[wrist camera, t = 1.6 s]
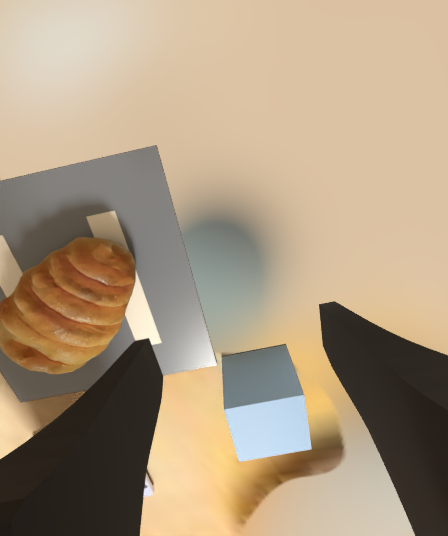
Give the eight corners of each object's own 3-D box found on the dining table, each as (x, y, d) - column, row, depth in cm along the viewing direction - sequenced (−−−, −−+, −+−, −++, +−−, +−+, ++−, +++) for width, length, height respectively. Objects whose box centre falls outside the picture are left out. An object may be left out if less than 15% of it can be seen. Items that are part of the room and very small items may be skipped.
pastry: (74, 205, 18) (40, 221, 14) (166, 270, 20) (157, 298, 16) (5, 311, 20) (-38, 346, 17) (93, 359, 22) (71, 400, 19)
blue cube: (293, 391, 25) (311, 449, 20) (234, 402, 25) (238, 461, 20) (285, 343, 23) (304, 394, 18) (221, 355, 23) (224, 409, 18)
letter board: (216, 363, 23) (216, 365, 23) (22, 400, 24) (20, 403, 24) (156, 145, 17) (155, 145, 17) (-105, 204, 18) (-109, 205, 17)
